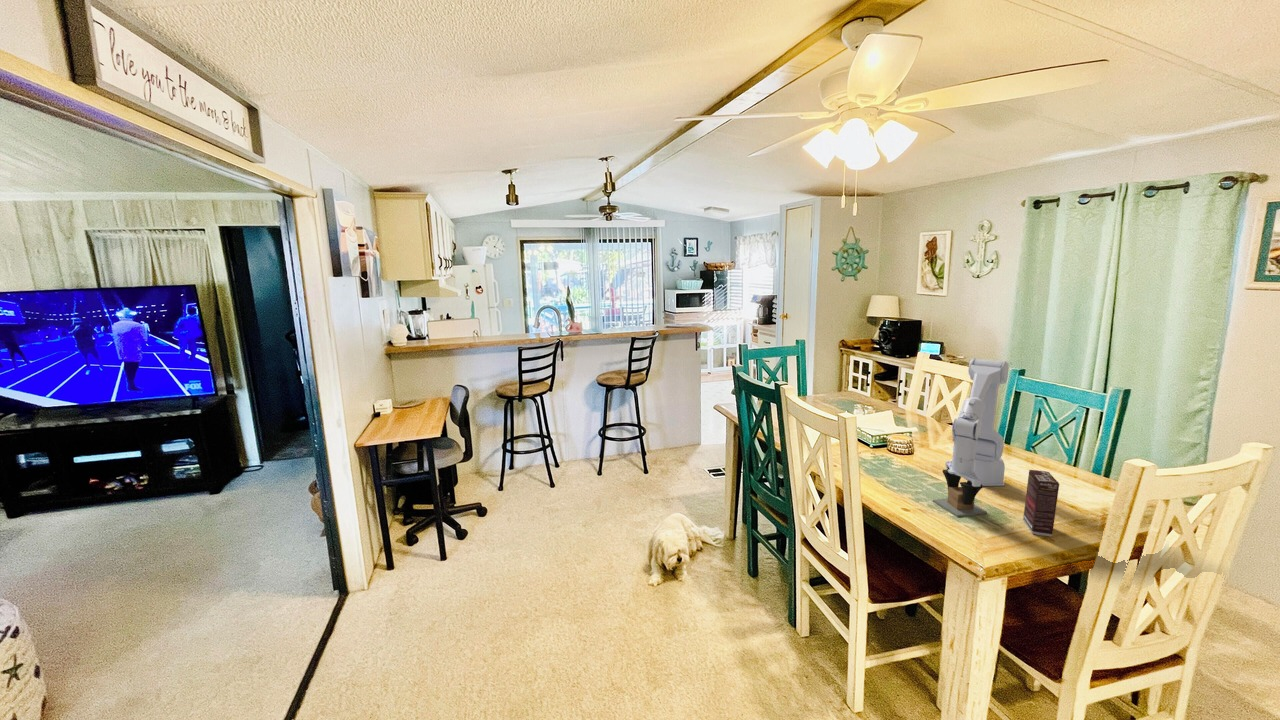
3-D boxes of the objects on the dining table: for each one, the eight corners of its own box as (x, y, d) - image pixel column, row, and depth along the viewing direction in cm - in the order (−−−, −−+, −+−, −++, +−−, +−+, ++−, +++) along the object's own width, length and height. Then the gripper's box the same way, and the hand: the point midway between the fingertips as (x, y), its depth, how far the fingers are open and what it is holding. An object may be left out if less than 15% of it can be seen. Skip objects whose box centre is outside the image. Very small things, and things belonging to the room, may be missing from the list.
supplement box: (1053, 537, 135) (1060, 483, 132) (1031, 534, 137) (1038, 481, 134) (1042, 522, 143) (1049, 471, 140) (1022, 519, 145) (1028, 468, 142)
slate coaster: (961, 498, 159) (961, 496, 159) (986, 513, 149) (987, 511, 149) (932, 501, 157) (933, 499, 157) (957, 516, 148) (957, 514, 148)
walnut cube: (963, 501, 155) (964, 486, 154) (973, 509, 150) (975, 494, 150) (947, 501, 156) (948, 487, 155) (956, 509, 151) (958, 494, 150)
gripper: (937, 448, 157) (933, 488, 160) (965, 466, 143) (961, 509, 146) (959, 448, 157) (956, 487, 160) (989, 466, 143) (985, 509, 145)
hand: (960, 498), depth 153 cm, fingers open, 7 cm apart
